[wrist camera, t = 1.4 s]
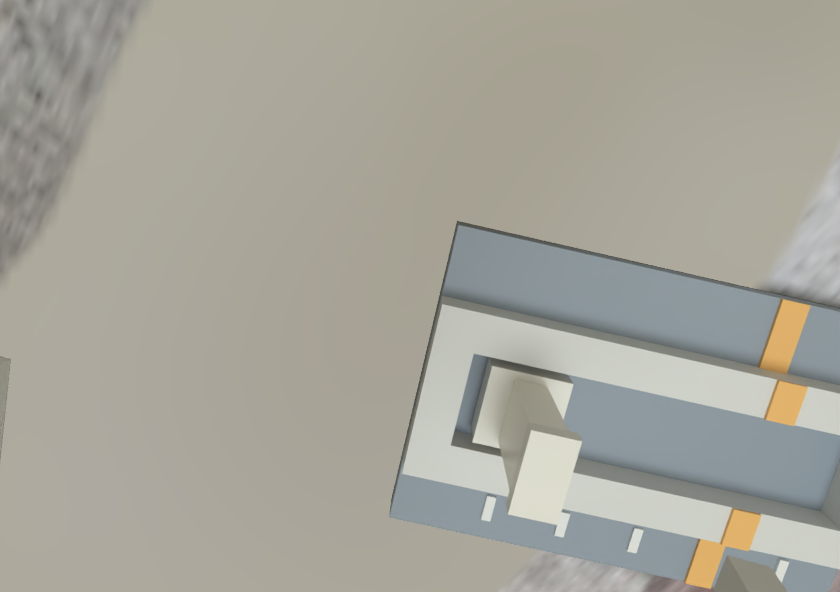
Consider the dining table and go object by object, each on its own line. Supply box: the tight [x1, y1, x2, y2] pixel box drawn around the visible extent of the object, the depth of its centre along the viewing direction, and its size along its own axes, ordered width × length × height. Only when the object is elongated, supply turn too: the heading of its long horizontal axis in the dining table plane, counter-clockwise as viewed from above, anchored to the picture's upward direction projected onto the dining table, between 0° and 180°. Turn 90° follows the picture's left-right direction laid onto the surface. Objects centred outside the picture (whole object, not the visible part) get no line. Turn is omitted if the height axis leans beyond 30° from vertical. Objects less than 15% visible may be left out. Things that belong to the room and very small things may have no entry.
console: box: [389, 221, 840, 592], centre depth 35 cm, size 16×24×4 cm, turn 77°
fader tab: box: [471, 357, 582, 525], centre depth 30 cm, size 4×4×8 cm
